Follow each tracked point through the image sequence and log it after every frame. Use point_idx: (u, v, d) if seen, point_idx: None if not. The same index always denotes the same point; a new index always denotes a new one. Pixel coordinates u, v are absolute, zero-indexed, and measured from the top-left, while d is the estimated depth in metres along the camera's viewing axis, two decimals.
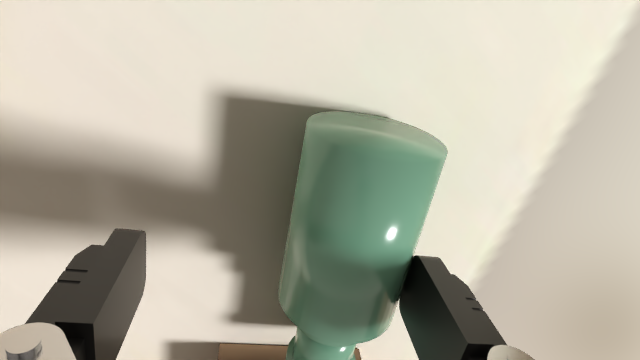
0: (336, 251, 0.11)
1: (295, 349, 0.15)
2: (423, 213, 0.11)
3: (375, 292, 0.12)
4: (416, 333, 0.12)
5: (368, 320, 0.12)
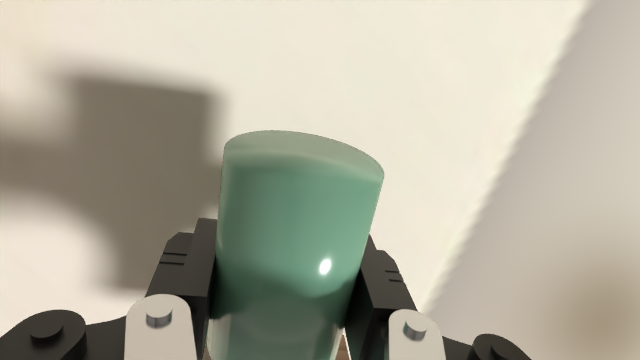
0: None
1: None
2: (277, 254, 0.09)
3: (228, 318, 0.10)
4: None
5: (225, 350, 0.11)
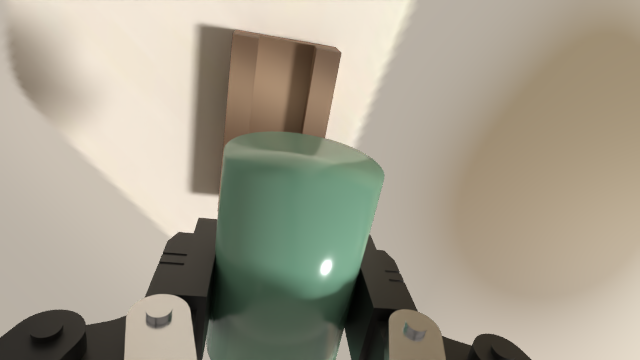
0: None
1: None
2: (277, 255, 0.09)
3: (227, 319, 0.10)
4: None
5: (225, 352, 0.11)
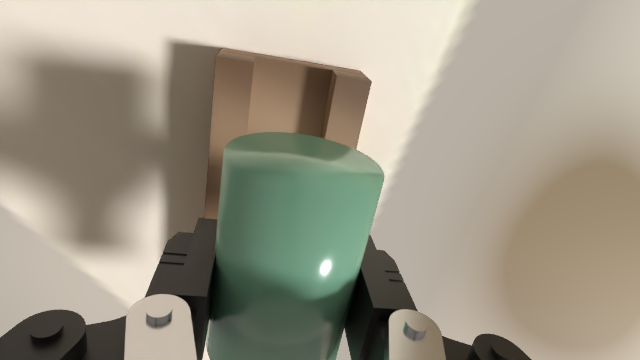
0: None
1: None
2: (277, 256, 0.09)
3: (228, 320, 0.10)
4: None
5: (225, 352, 0.11)
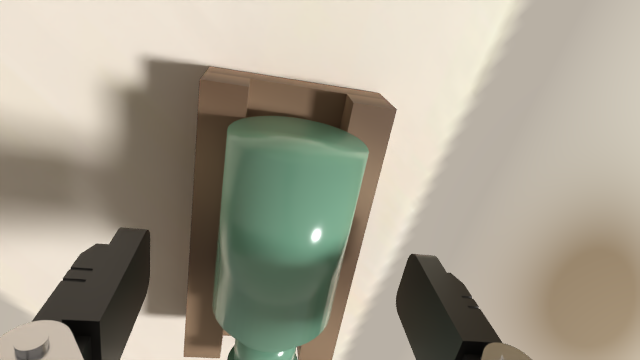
0: (219, 220, 0.12)
1: None
2: (274, 220, 0.10)
3: (231, 280, 0.12)
4: (412, 331, 0.12)
5: (229, 310, 0.12)
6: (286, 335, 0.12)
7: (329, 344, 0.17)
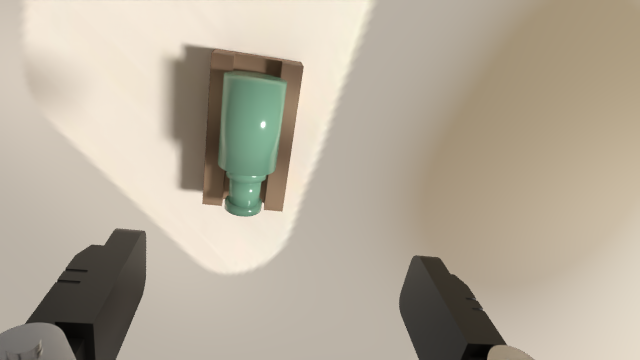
0: None
1: None
2: (243, 109, 0.25)
3: (226, 142, 0.26)
4: (416, 333, 0.12)
5: (225, 157, 0.26)
6: (251, 168, 0.26)
7: (280, 199, 0.31)
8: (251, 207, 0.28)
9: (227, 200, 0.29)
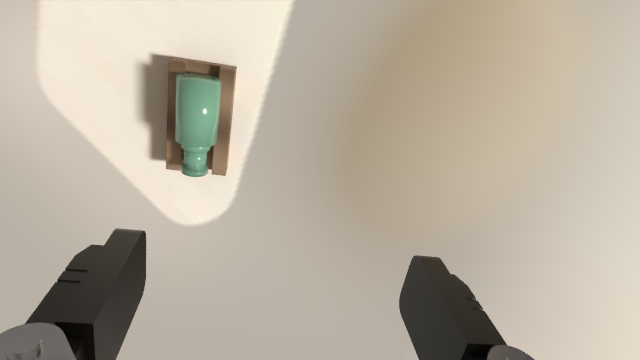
0: None
1: None
2: (189, 100, 0.36)
3: (179, 122, 0.37)
4: (416, 333, 0.12)
5: (178, 134, 0.38)
6: (196, 141, 0.38)
7: (223, 166, 0.42)
8: (199, 170, 0.40)
9: (182, 165, 0.40)
